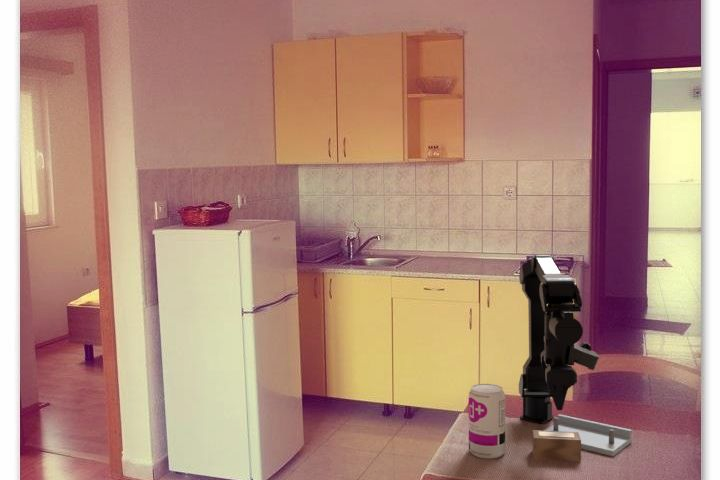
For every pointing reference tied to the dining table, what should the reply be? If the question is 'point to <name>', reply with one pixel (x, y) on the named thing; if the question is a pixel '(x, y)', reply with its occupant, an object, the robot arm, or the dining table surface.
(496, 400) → the supplement can
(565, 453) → the brown wooden block
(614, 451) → the ledge
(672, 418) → the dining table surface
